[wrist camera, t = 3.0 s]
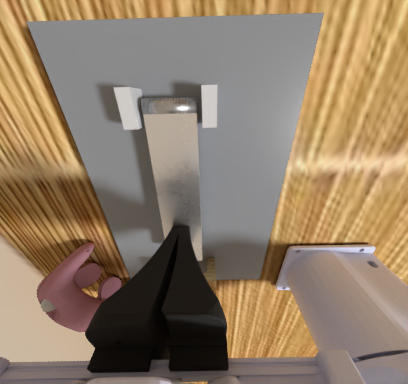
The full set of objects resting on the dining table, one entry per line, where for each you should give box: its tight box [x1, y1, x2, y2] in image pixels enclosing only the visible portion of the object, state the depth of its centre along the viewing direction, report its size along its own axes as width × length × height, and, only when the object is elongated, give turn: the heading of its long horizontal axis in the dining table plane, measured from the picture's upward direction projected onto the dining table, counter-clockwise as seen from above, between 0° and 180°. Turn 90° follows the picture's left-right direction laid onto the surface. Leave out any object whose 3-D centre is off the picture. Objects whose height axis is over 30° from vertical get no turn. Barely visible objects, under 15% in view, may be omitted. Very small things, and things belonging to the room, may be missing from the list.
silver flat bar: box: [141, 97, 203, 261], centre depth 12 cm, size 3×12×1 cm, turn 1°
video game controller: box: [37, 242, 122, 332], centre depth 18 cm, size 10×5×7 cm, turn 34°
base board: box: [27, 13, 324, 280], centre depth 14 cm, size 15×22×3 cm
